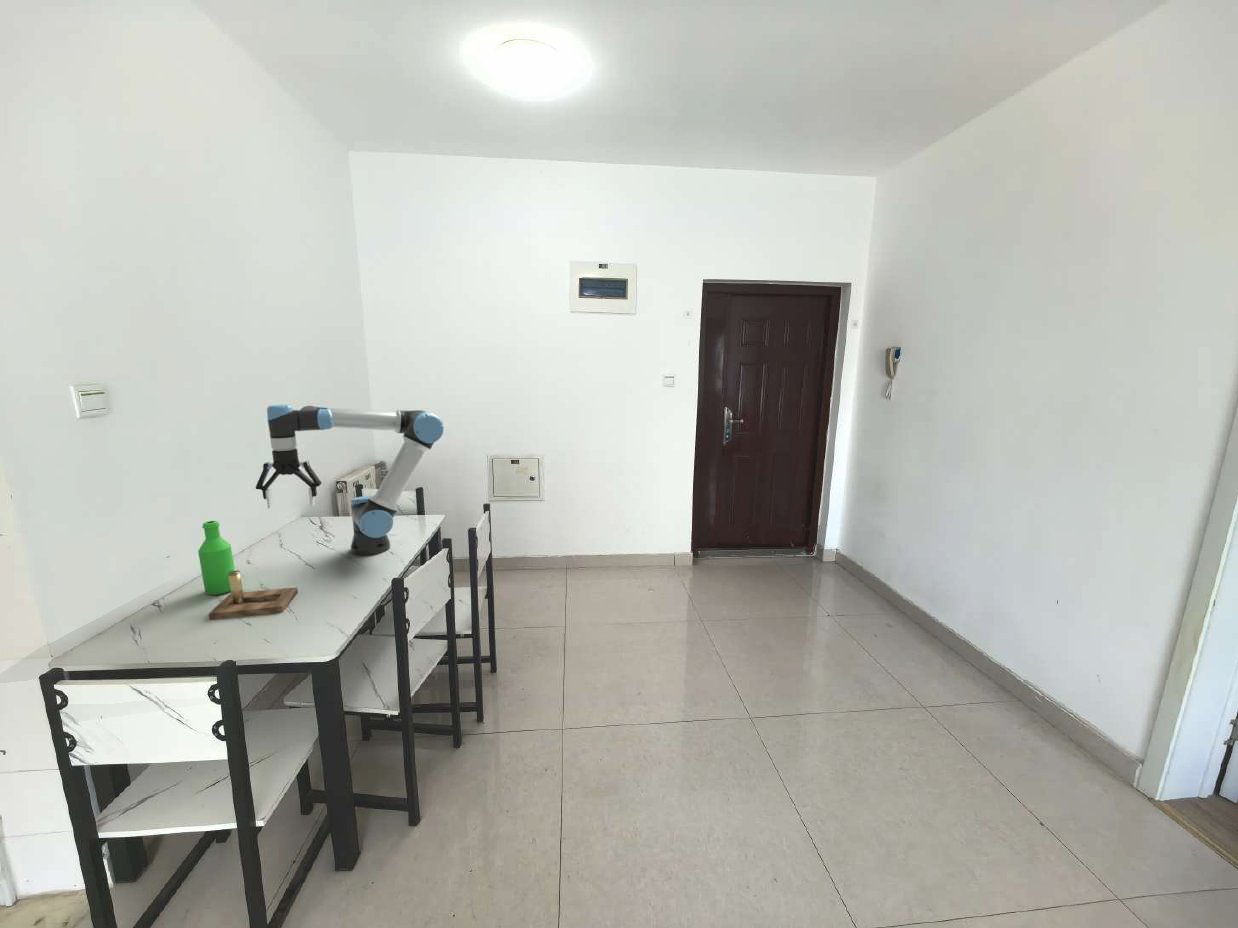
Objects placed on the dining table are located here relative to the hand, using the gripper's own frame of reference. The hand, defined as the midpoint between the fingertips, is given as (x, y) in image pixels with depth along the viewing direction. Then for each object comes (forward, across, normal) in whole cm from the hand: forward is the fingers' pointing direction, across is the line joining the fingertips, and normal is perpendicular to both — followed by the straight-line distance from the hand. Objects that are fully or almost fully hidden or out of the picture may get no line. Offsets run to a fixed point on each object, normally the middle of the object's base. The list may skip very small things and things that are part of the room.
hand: (291, 506), depth 183 cm
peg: (+27, +11, +23) cm, 37 cm away
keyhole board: (+27, +6, +23) cm, 36 cm away
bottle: (+27, +22, +8) cm, 36 cm away
